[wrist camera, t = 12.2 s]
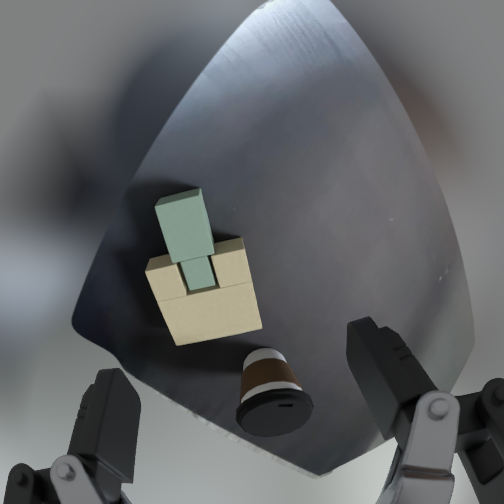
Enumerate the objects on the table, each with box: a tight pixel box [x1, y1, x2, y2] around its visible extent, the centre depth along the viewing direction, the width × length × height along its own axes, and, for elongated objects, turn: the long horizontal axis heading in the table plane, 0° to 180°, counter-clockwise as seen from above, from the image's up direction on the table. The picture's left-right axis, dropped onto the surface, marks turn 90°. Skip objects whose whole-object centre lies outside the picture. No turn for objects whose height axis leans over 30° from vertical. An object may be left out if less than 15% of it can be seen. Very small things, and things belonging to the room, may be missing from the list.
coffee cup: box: [236, 348, 314, 437], centre depth 41 cm, size 11×11×12 cm
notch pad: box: [145, 237, 262, 346], centre depth 38 cm, size 12×12×4 cm
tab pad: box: [155, 188, 215, 290], centre depth 34 cm, size 11×5×4 cm, turn 10°
